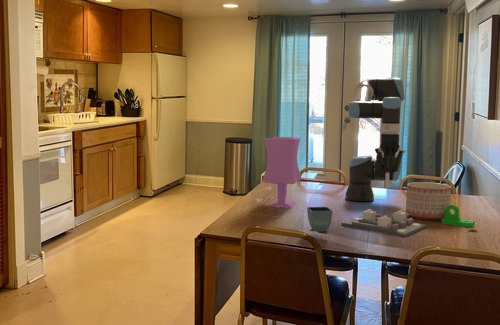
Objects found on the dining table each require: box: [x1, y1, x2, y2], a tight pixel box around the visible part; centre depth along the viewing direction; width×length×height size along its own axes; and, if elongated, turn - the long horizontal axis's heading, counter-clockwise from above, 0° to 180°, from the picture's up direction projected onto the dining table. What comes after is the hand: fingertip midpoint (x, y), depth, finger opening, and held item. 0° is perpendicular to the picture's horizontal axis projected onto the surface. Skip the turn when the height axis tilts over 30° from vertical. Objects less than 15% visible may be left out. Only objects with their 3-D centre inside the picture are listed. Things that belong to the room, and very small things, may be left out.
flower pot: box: [306, 206, 334, 233], centre depth 193 cm, size 9×9×9 cm
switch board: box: [340, 214, 428, 238], centre depth 201 cm, size 28×22×3 cm
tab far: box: [392, 210, 407, 221], centre depth 204 cm, size 4×4×5 cm
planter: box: [405, 181, 452, 221], centre depth 220 cm, size 19×19×15 cm
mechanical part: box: [441, 204, 476, 228], centre depth 206 cm, size 12×6×8 cm, turn 50°
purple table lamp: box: [262, 136, 302, 209], centre depth 241 cm, size 16×16×35 cm
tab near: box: [378, 214, 392, 228], centre depth 194 cm, size 4×4×5 cm
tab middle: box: [362, 208, 377, 221], centre depth 206 cm, size 4×4×5 cm
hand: (388, 187), depth 207 cm, fingers closed
